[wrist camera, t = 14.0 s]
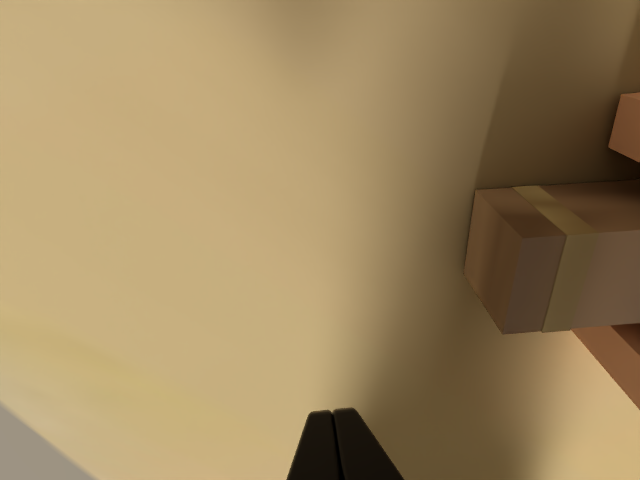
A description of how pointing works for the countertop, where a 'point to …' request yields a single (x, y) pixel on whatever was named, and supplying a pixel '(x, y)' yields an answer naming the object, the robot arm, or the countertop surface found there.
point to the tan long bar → (557, 255)
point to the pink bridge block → (626, 339)
